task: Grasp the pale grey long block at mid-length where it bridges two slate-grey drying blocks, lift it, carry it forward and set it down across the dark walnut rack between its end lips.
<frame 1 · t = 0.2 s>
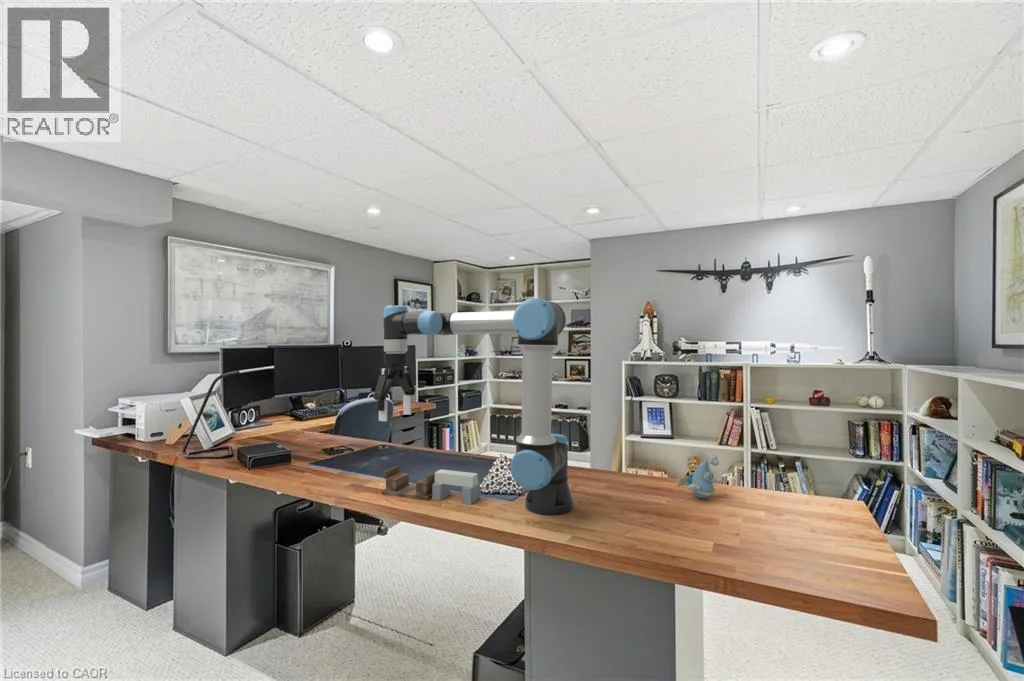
hand: (395, 417, 153), 27 cm above the table, fingers open, 13 cm apart
rack: (412, 492, 162), on the table
pale grey long block: (456, 483, 156), point 5 cm above the table, touching drying blocks
toy figure: (703, 498, 156), on the table
drying blocks: (456, 498, 156), on the table
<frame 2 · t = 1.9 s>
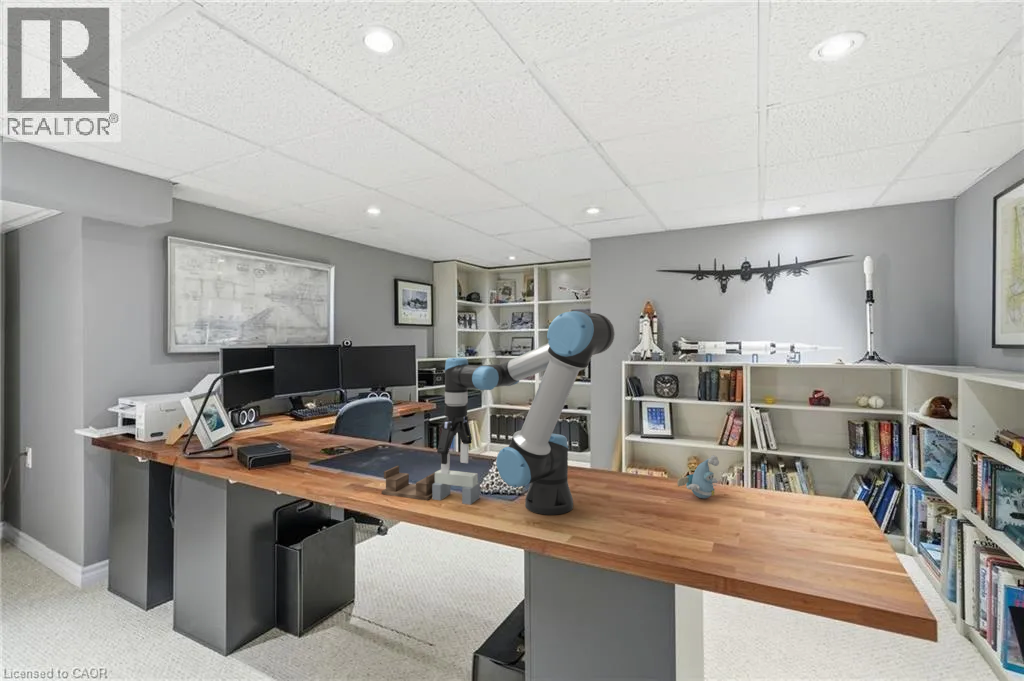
hand: (455, 467, 156), 10 cm above the table, fingers open, 13 cm apart
nothing on the table moved.
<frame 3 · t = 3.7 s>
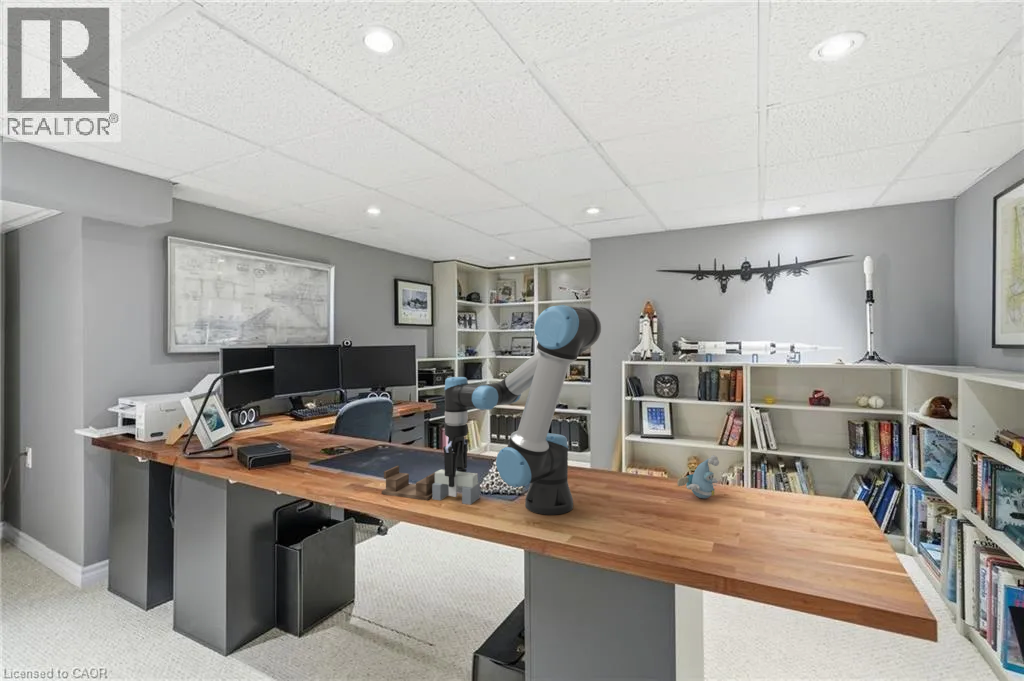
hand: (456, 493, 156), 2 cm above the table, fingers closed on pale grey long block, 4 cm apart
pale grey long block: (456, 483, 156), point 5 cm above the table, touching drying blocks, gripper
everything else where it was.
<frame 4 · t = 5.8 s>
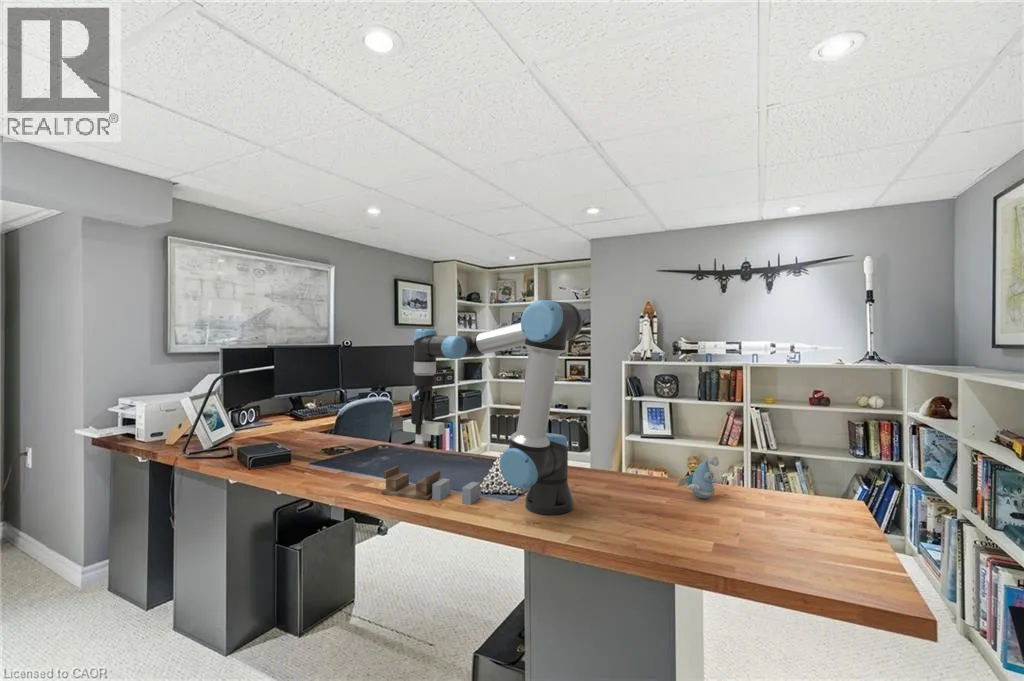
hand: (423, 441, 160), 18 cm above the table, fingers closed on pale grey long block, 4 cm apart
pale grey long block: (423, 432, 160), point 21 cm above the table, touching gripper
everything else where it was.
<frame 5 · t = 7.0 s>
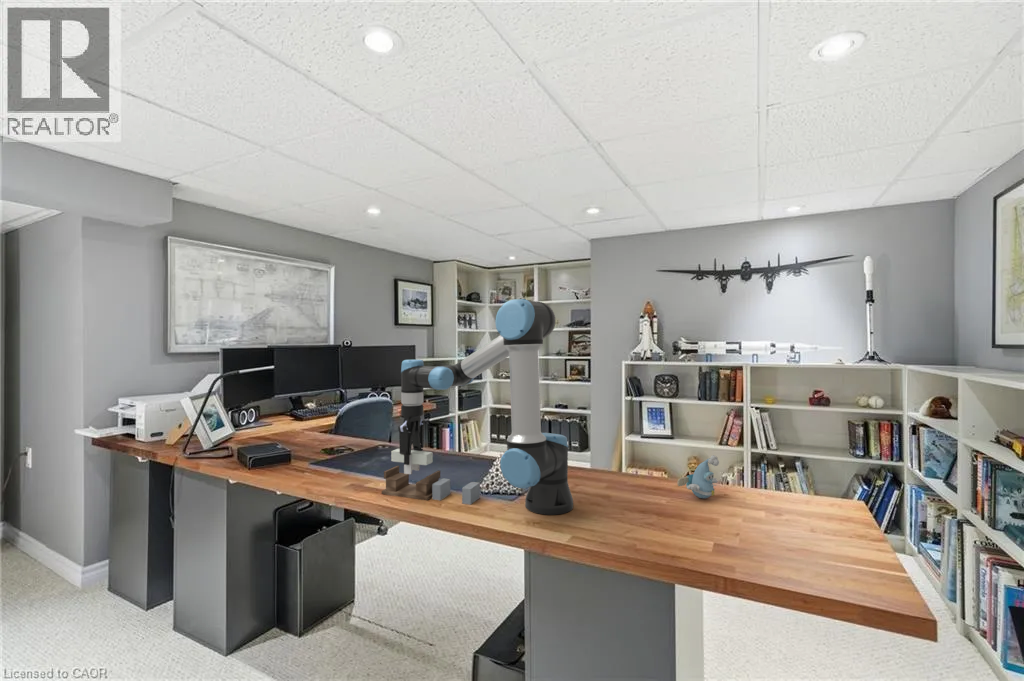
hand: (411, 471, 162), 7 cm above the table, fingers closed on pale grey long block, 4 cm apart
pale grey long block: (411, 461, 162), point 11 cm above the table, touching gripper
everything else where it was.
when the fingers open (3 cm above the table, at t = 8.1 s): pale grey long block drops 2 cm, resting on rack.
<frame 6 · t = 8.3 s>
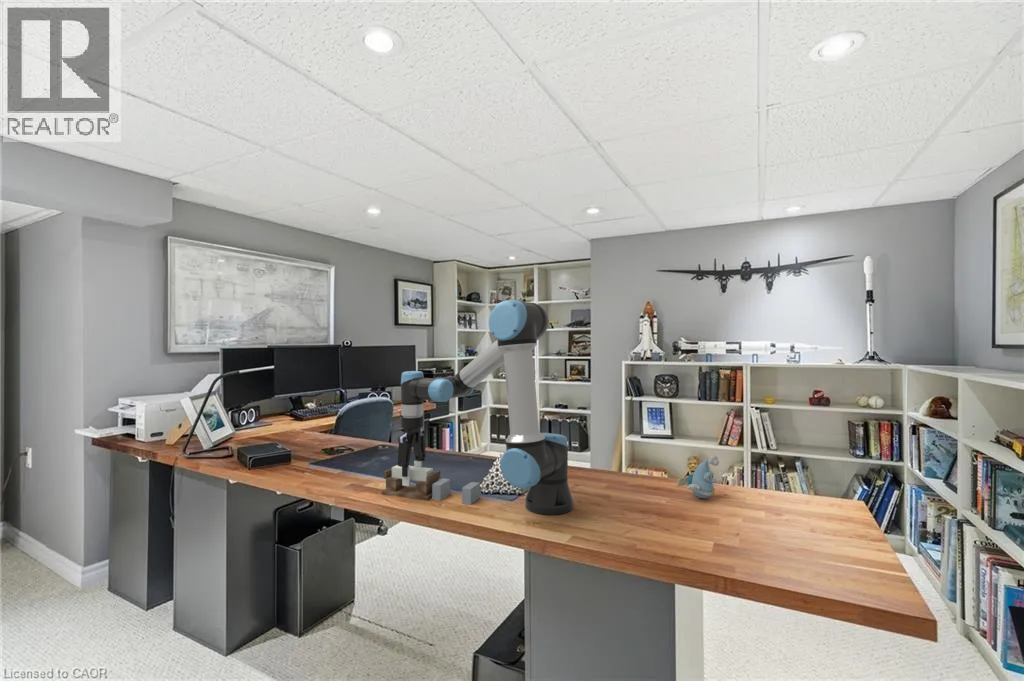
hand: (412, 482, 162), 3 cm above the table, fingers open, 7 cm apart
pale grey long block: (412, 478, 162), point 5 cm above the table, touching rack
everything else where it was.
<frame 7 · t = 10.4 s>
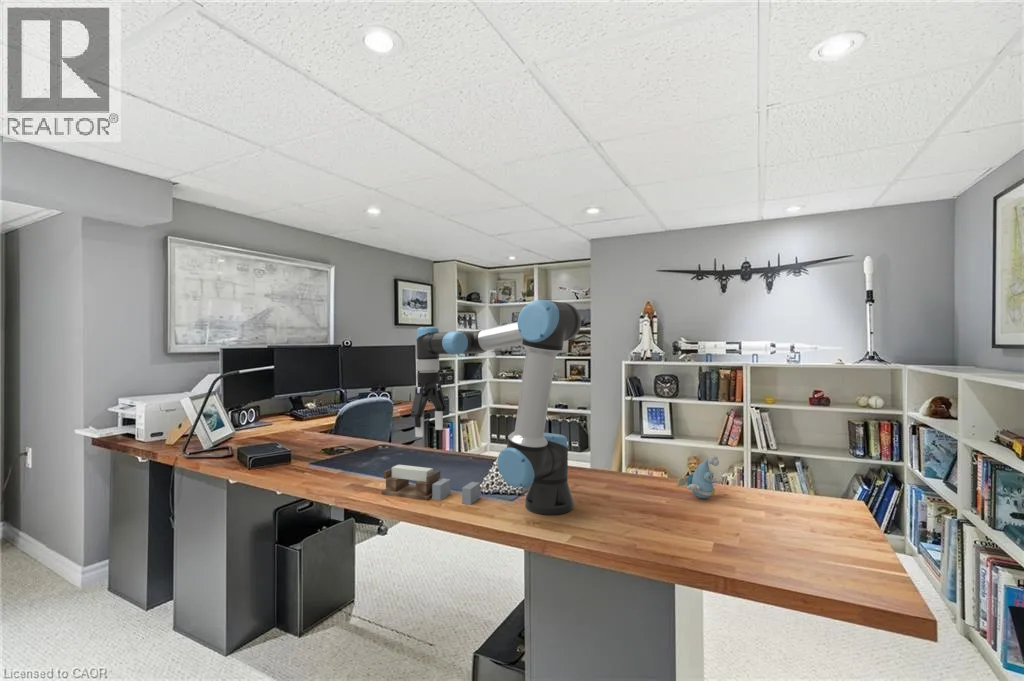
hand: (429, 433, 162), 21 cm above the table, fingers open, 13 cm apart
nothing on the table moved.
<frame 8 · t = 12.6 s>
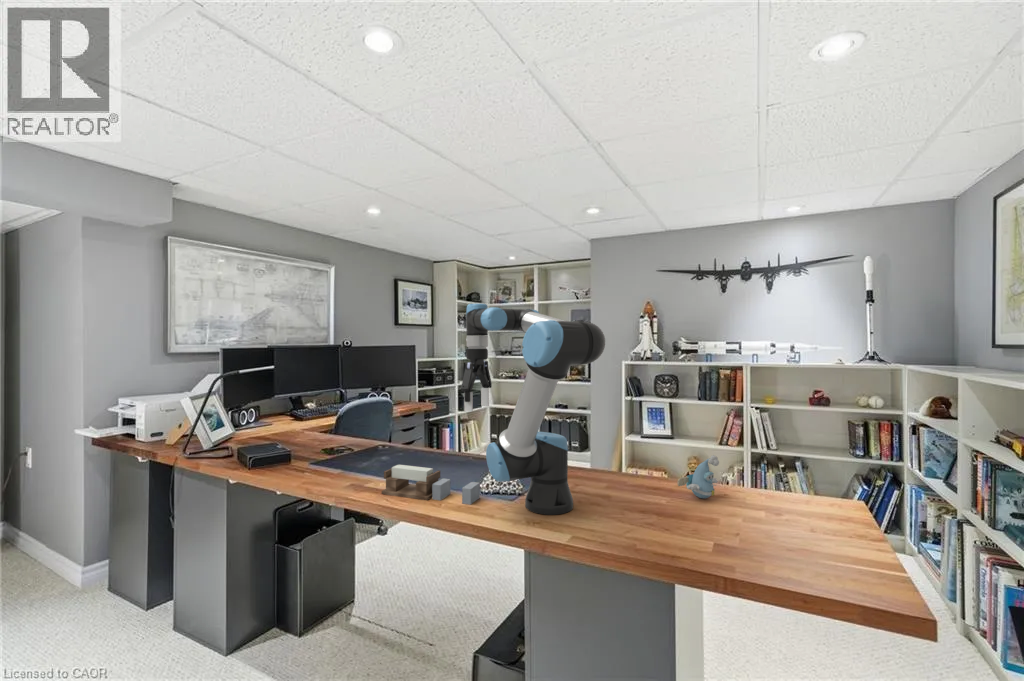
hand: (477, 408, 164), 29 cm above the table, fingers open, 13 cm apart
nothing on the table moved.
at the end: pale grey long block 0.0 cm off-centre on the rack, point 5.0 cm above the rack's base; pale grey long block tilted 0°; the gripper is holding nothing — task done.
